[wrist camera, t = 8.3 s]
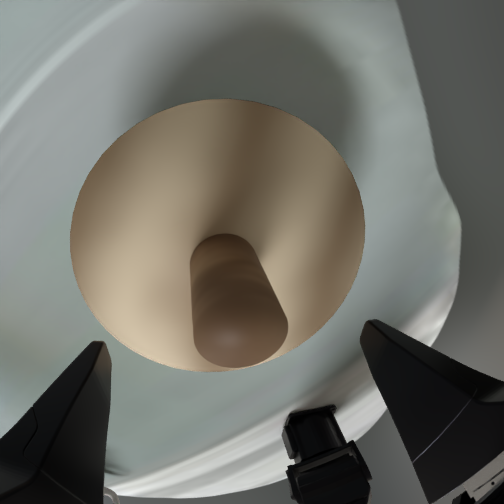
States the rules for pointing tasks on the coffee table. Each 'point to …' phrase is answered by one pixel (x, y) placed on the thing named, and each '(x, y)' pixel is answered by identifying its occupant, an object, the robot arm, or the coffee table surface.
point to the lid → (217, 235)
